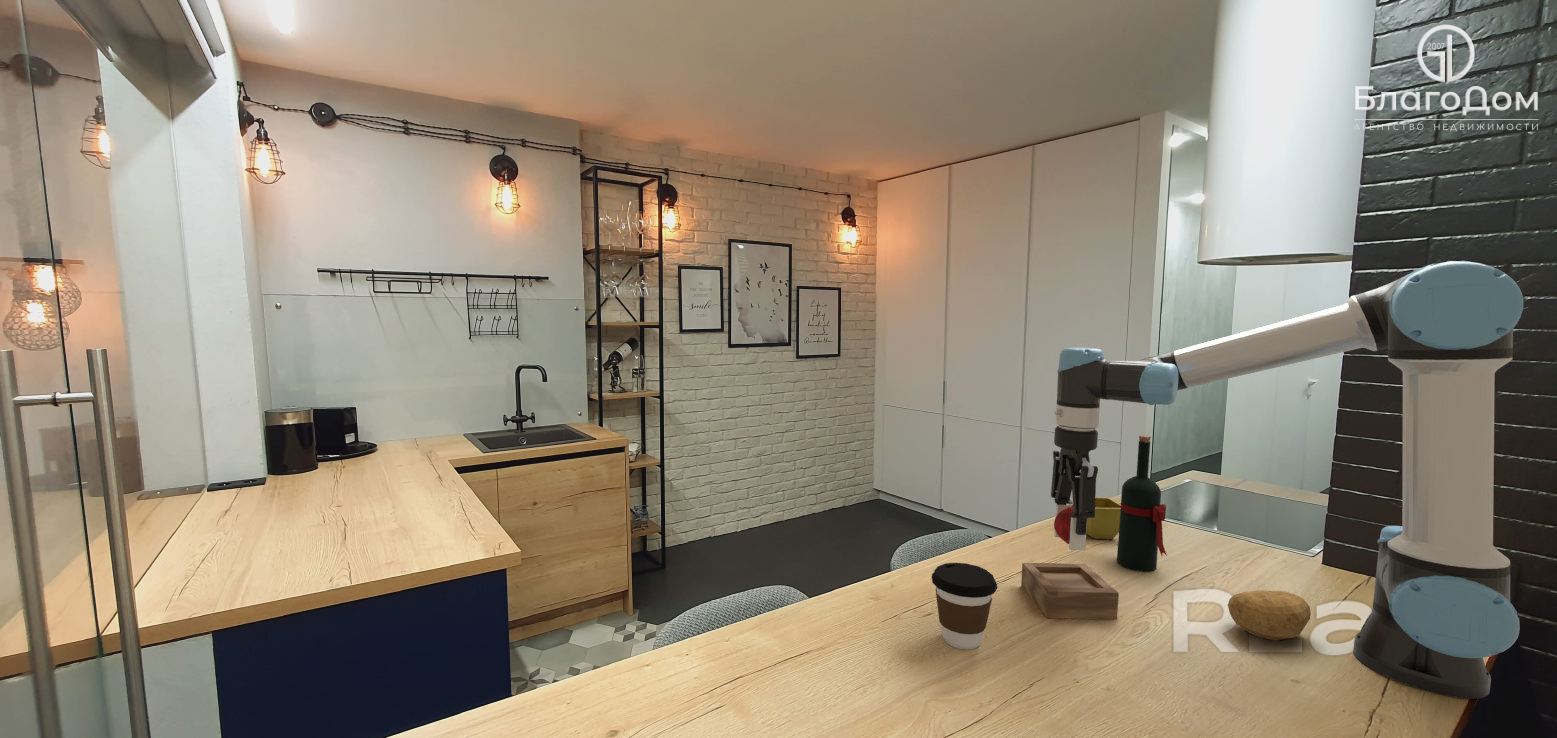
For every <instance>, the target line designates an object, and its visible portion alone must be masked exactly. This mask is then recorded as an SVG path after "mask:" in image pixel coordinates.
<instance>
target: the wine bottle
mask: <svg viewBox="0 0 1557 738" xmlns="http://www.w3.org/2000/svg"><path fill="white" fill-rule="evenodd" d="M1151 438H1152V437H1151V436H1149V435H1138V439H1139V440H1138V446H1137V447H1138V448H1137V451H1138V452H1137V462H1136V463H1137V465H1136V475H1135V476H1132V477H1130V478H1128V479H1127V480H1126V481H1124V483H1123V484H1122V486H1121V496H1120V497H1121V498H1120V505H1121V509H1120V523H1119V533H1118V536H1117V537H1118V539H1117V540H1118V541H1117V553H1116V562H1117V564H1118V565H1119V566H1122V567H1123V568H1126V569H1128V570H1131V571H1136V572H1143V573H1149V572H1150V573H1152V572H1154V571H1156V570H1157V566H1158V553H1159V552H1160V555H1161V557H1163V555H1165V556H1167V555H1168V554H1167V552H1166V549H1165V546H1164V539H1163V538H1164V537H1163V536H1164V535H1163V522H1165V520H1166V515H1167V514H1166V512H1167V506H1166V503H1165V504H1162V502H1161V501H1162V498H1161V497H1162V491H1161V488H1160V487H1159V485H1158V484H1157V482H1156V481H1154V480H1153V479H1152V478H1150V477H1149V467H1150V453H1151V451H1150V450H1151V448H1150V447H1151V442H1150V441H1151ZM1158 551H1159V552H1158Z"/></svg>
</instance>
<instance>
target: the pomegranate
mask: <svg viewBox="0 0 1557 738" xmlns="http://www.w3.org/2000/svg"><path fill="white" fill-rule="evenodd" d="M1068 505H1069V506H1068V508H1067V509H1065V510H1063V511H1061V512H1060V513H1059V514H1058V515H1057V516H1056V515H1055V516H1056V518H1055V519H1054V522H1053V529H1054V532H1055V531H1056V533H1057V535H1058V536H1059V537H1058V538H1060V539H1061V540H1062V541H1064V542H1065V543H1066V544H1067V545H1069V543H1070V527H1071V517H1070V514H1074V509H1073V503H1072V504H1068Z"/></svg>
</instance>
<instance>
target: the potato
mask: <svg viewBox="0 0 1557 738" xmlns="http://www.w3.org/2000/svg"><path fill="white" fill-rule="evenodd" d="M1227 607H1228V611H1229V615H1230V617H1231V619H1232V620H1233V621H1234V623H1235V624H1236V625H1237V626H1239V627H1240V628H1241V629H1242V630H1244V631H1246V632H1247V633H1250V634H1251V635H1253V636H1256V637H1258V638H1262V639H1264V640H1271V641H1279V640H1281V641H1282V640H1288V639H1293V638H1296V637H1298V636H1299V635H1301V634H1302V632H1303V630H1305V628H1306V625H1308V623H1309V621H1310V620H1311V614H1312V613H1311V607H1310V605H1309V603H1308V602H1307V601H1306V600H1305V599H1304V598H1303V597H1301V596H1299V595H1297V594H1294V593H1291V592H1290V591H1285V590H1261V589H1260V590H1259V589H1258V590H1252V591H1243V592H1239V593H1236V594H1234V595H1232V596H1231V597H1230V598H1229V601H1228V604H1227Z"/></svg>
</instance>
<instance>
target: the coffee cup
mask: <svg viewBox="0 0 1557 738" xmlns="http://www.w3.org/2000/svg"><path fill="white" fill-rule="evenodd" d="M931 582H932V584H933V585H934V586H935V597H936V605H937V614H938V619H939V620H938V621H939V623H940V627H941V630H940V631H941V636H942V638H943V640H944V642H945V643H946V644H948V645H949V646H951V647H952V648H956V649H958V650H974V649H977V648H978V647H979V645H980V644H981V643H982V640H983V636H984V632H985V629H986V628H987V624H988V619H989V614H990V611H991V606H992V600H993V598H992V596H993V595H995V592H997V590H998V584H997V581H996V579H995V577H994V574H992V573H991V572H989V570H987V569H985V568H983V567H981V566H978V565H975V564H970V563H964V562H946V563H943V564H941V565H938V566H937V567H936V568H935V569H934V570H933V572H932V574H931Z"/></svg>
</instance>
